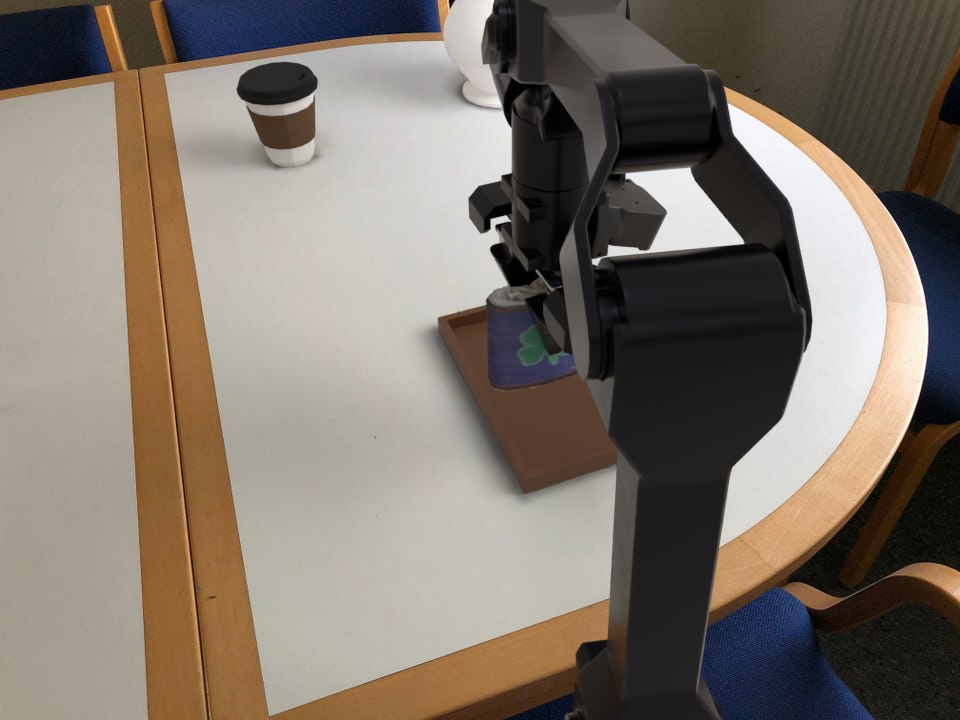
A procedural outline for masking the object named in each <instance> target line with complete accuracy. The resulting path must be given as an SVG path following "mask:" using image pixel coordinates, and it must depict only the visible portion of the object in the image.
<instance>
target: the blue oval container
mask: <svg viewBox="0 0 960 720" xmlns="http://www.w3.org/2000/svg"><path fill="white" fill-rule="evenodd" d="M547 288H548V287H547V286H546V284H545V283H544V282H543V280H542V279H541V278H540V277H539V278H537V279H536V280H535V281H533V282H532V283H531V284H530V285H524V286H521V287H510V285H508V284H507V285H506V286H502V287H500V288H496V289H494V290H493V291H492V292H490V294H489V295H487V297H486V299H485V305H486V308H487V314H486V318H487V339H488V340H487V353H488V379H489V380H488V381H489V382H490V385H491V387H492V388H493V389H495V390H498V391H502V392H503V391H516V390H523V389H527V388H534V387H538V386H541V385H545V384H547V383H550V382H555V381H558V380H561V379H565V378H567V377H569V376H570V377H571V376H573V375H576V374H578V372H577V368H576V365H575V362H574V357H573V355H571V354H567V353H564V352H563V351H561V352H560V353H558V354H554V355H549V354H548V353H547V351H546V349H545V346H544V344H543V342H542V340H541V338H540V335H539V333H538V331H537V328H536V326H535V324H534V322H533V319H532V317H531V315H530V313H529V310H528V308H527V306H526V303H525V301H524V299H525V298H529V297H532V296H536V295H540V294H543V293H546V289H547Z"/></svg>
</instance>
